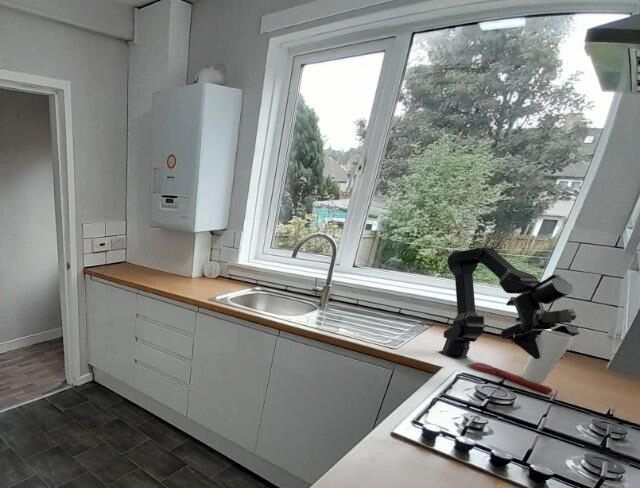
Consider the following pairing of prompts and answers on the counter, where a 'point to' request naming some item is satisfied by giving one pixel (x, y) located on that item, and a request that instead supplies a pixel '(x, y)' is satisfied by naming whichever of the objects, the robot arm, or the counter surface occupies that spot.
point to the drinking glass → (546, 355)
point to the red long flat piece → (510, 377)
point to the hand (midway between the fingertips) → (548, 359)
